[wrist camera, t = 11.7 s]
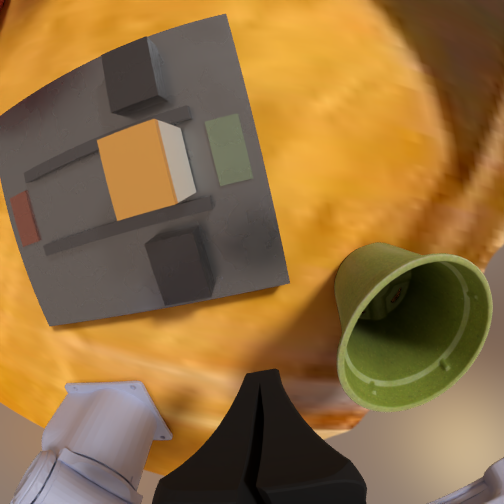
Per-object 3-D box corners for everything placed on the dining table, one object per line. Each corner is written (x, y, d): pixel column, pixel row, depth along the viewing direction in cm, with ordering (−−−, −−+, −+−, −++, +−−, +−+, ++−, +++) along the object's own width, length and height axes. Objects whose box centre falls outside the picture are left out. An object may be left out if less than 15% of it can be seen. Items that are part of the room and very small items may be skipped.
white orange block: (150, 204, 18) (117, 220, 14) (135, 143, 17) (96, 140, 13) (196, 192, 18) (175, 204, 13) (180, 128, 17) (154, 118, 12)
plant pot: (287, 312, 22) (301, 392, 14) (350, 194, 20) (408, 219, 12) (384, 350, 23) (425, 421, 15) (445, 251, 21) (515, 296, 13)
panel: (58, 318, 23) (37, 337, 20) (3, 122, 18) (-24, 121, 15) (287, 274, 22) (293, 296, 18) (227, 22, 17) (222, 0, 13)
